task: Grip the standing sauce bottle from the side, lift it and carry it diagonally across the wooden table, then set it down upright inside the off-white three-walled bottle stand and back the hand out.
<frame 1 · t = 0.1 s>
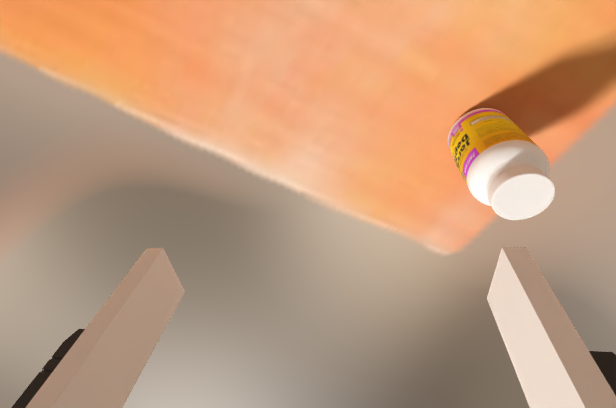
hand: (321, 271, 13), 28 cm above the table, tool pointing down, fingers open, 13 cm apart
supplement bottle: (476, 134, 37), on the table
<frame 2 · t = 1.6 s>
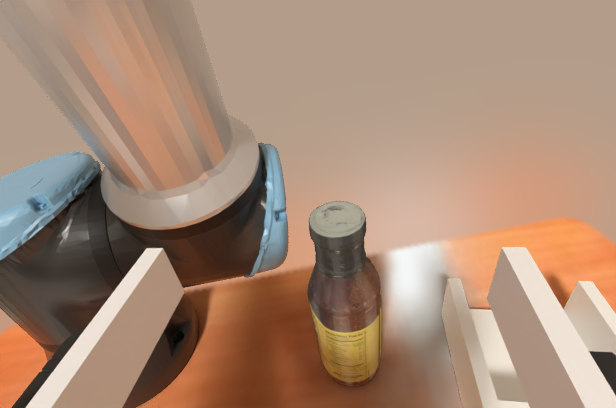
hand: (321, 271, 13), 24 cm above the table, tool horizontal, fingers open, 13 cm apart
sauce bottle: (350, 362, 35), on the table
bottle stand: (527, 373, 32), on the table
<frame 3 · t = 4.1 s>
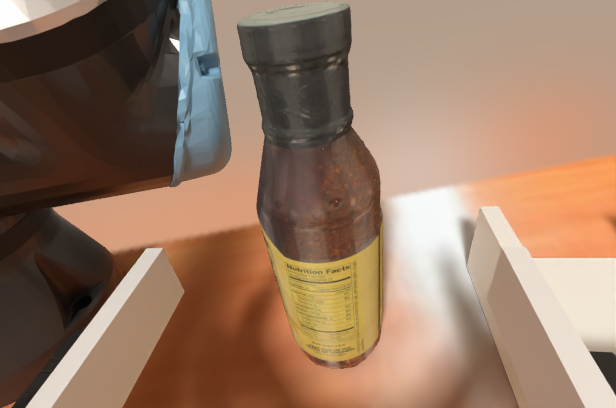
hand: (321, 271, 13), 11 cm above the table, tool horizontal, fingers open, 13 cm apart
sauce bottle: (336, 335, 23), on the table
bottle stand: (611, 344, 20), on the table
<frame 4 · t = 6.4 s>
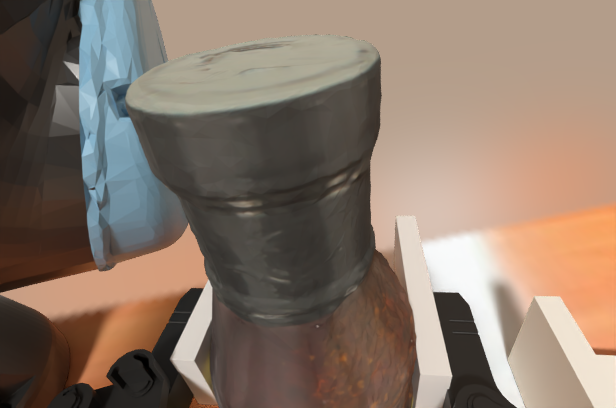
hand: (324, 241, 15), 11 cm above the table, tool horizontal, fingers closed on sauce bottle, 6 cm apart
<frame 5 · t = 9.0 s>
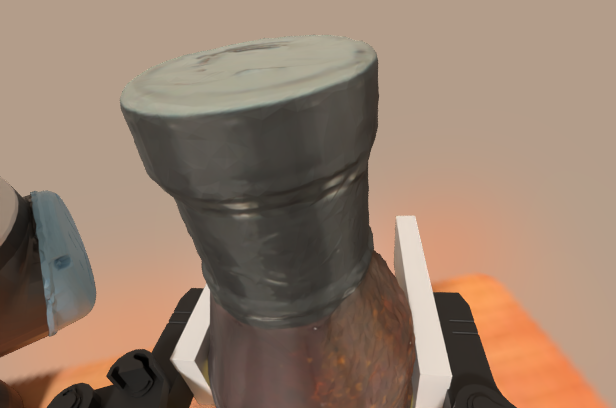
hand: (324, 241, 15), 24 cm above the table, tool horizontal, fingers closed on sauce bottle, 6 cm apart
when the fingers open (13 cm above the table, at t = 12.1 s): sauce bottle drops 1 cm, resting on bottle stand.
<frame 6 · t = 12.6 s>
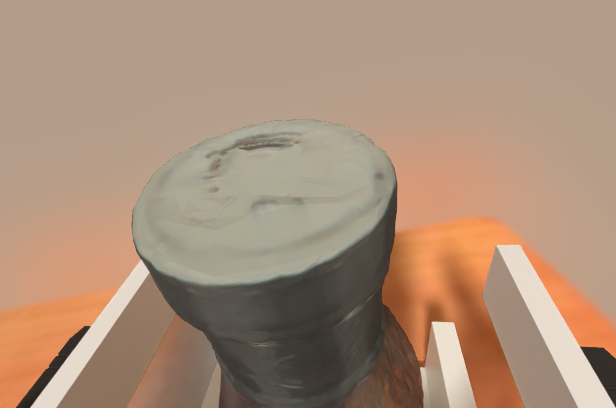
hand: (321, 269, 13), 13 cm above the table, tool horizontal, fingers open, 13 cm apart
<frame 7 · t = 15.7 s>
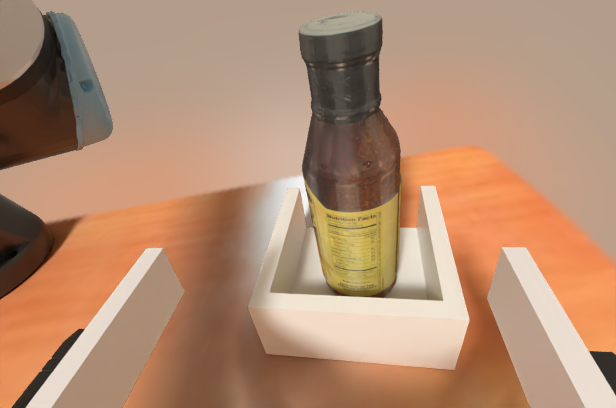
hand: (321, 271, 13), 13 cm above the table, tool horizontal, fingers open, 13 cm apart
sauce bottle: (359, 281, 28), point 1 cm above the table, touching bottle stand
bottle stand: (358, 285, 29), on the table
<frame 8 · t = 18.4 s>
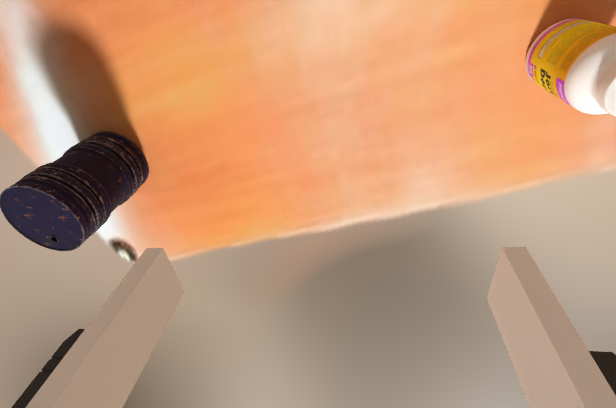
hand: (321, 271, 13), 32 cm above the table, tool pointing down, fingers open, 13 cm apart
dark ridged cylinder: (118, 160, 51), on the table
supplement bottle: (557, 52, 35), on the table
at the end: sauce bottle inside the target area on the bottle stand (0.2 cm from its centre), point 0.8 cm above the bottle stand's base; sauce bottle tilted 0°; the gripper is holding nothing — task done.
